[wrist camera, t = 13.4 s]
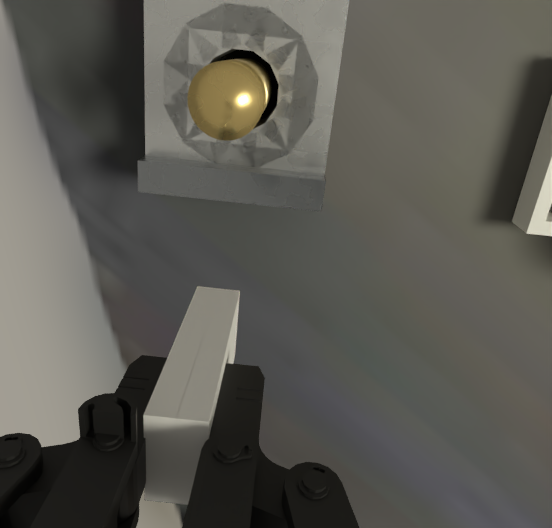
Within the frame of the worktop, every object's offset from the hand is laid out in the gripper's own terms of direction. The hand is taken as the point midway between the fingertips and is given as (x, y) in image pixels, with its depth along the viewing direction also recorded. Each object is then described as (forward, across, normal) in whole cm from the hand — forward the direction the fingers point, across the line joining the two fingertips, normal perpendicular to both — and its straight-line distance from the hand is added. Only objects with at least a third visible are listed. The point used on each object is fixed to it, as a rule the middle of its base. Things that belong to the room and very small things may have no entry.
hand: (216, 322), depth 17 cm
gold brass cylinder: (+26, +2, -6) cm, 27 cm away
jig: (+26, +2, -6) cm, 27 cm away
